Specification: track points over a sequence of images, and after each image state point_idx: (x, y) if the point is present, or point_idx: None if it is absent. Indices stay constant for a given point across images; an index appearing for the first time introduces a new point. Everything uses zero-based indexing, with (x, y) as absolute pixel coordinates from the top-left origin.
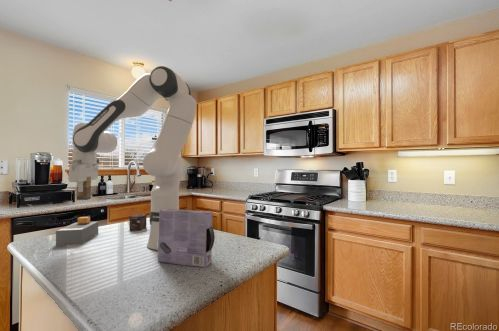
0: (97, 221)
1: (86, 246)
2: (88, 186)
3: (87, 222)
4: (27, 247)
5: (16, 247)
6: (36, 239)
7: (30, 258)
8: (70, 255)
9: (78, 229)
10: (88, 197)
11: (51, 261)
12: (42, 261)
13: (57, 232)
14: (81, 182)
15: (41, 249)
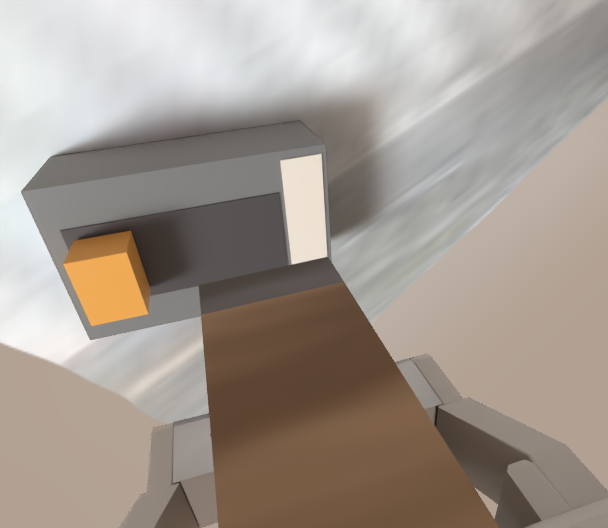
0: (26, 196)
1: (355, 59)
2: (334, 416)
3: (123, 233)
4: None
5: None
6: (201, 398)
7: (471, 218)
8: (490, 58)
9: (321, 172)
10: (277, 283)
11: (542, 99)
12: (527, 141)
13: None
14: (594, 481)
15: (361, 264)
